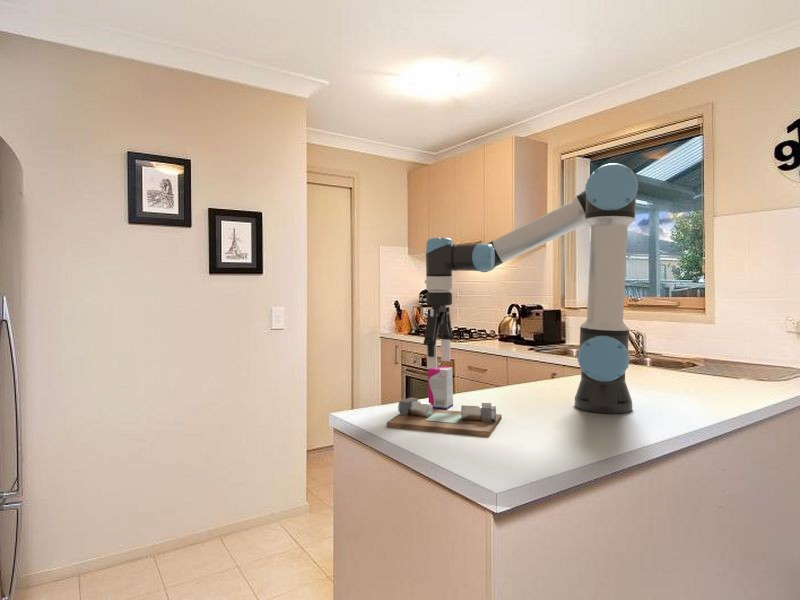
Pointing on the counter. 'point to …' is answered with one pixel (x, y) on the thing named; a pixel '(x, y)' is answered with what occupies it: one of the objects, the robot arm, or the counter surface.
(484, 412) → the grey collared shaft
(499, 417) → the board
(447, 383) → the supplement box
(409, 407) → the shaft
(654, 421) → the counter surface
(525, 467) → the counter surface
